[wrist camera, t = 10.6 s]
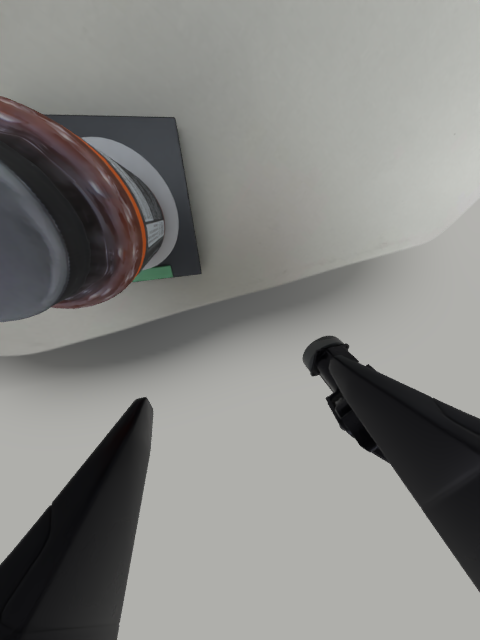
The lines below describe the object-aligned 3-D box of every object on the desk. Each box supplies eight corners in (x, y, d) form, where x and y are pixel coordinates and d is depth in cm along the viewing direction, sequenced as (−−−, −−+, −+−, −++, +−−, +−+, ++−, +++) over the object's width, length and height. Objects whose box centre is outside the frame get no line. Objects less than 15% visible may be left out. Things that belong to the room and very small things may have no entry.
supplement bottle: (110, 271, 14) (-49, 387, 5) (45, 181, 11) (-816, 2, 2) (181, 246, 15) (159, 311, 5) (138, 151, 11) (-146, -165, 2)
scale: (200, 269, 18) (201, 275, 16) (89, 282, 16) (77, 290, 14) (176, 127, 12) (174, 113, 11) (8, 125, 11) (-26, 109, 9)
